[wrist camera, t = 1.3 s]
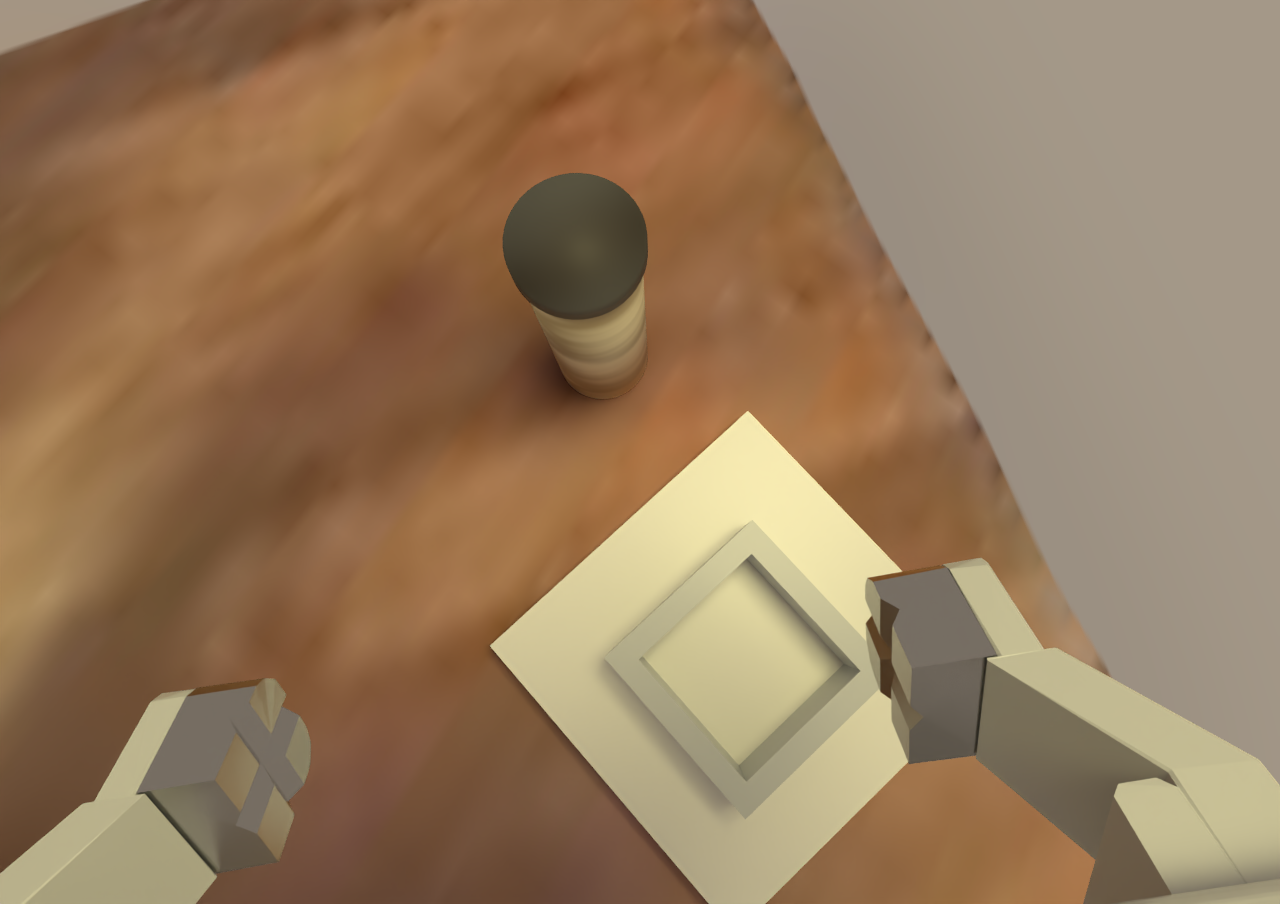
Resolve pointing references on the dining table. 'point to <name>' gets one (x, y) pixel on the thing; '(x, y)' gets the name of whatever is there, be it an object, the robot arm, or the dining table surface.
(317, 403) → the dining table surface
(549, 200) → the peg
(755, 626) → the holder
